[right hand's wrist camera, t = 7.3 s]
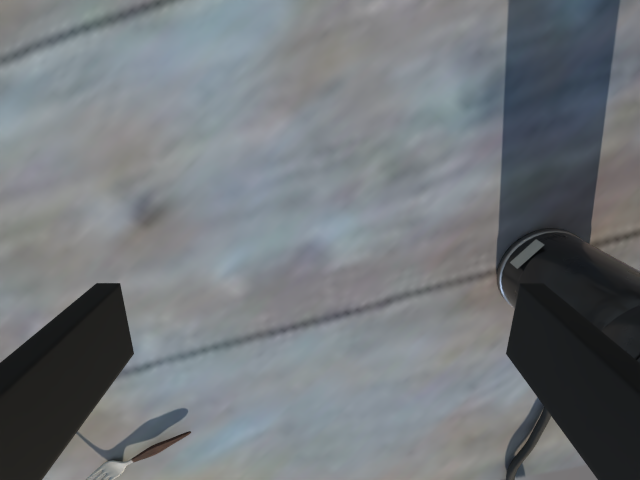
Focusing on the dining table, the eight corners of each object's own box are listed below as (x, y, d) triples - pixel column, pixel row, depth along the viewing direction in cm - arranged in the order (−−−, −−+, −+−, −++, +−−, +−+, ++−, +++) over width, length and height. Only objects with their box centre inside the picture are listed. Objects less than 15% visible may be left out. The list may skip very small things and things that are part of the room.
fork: (198, 435, 48) (193, 449, 46) (100, 483, 51) (92, 498, 49) (185, 421, 47) (180, 434, 45) (86, 470, 50) (77, 485, 48)
